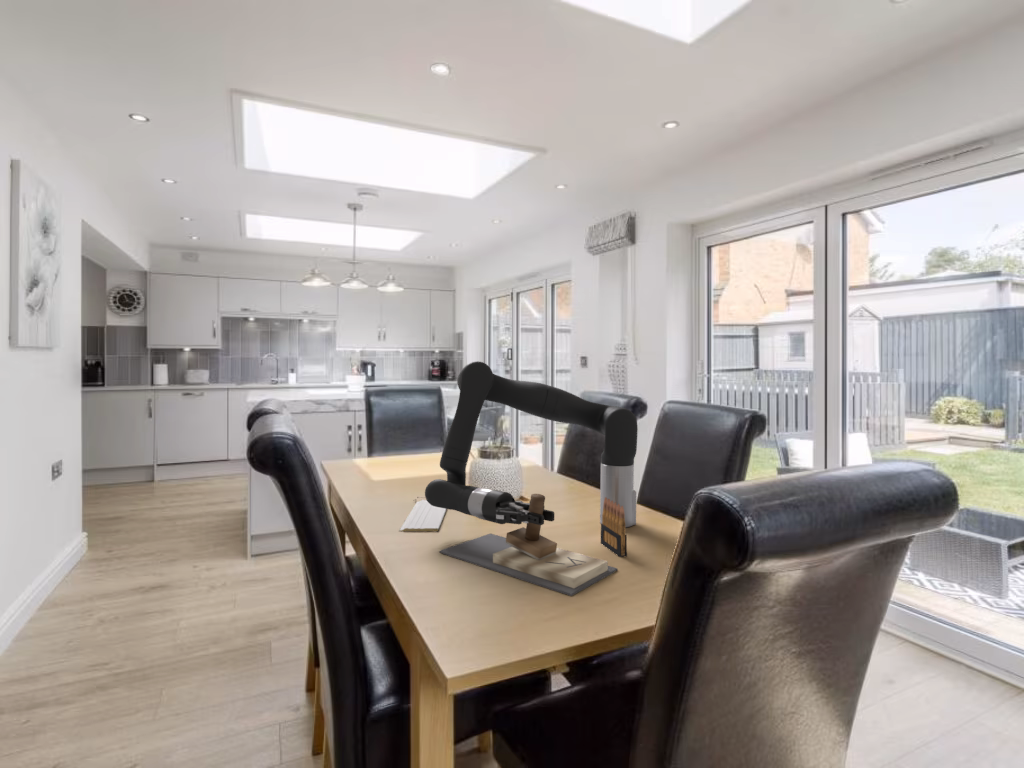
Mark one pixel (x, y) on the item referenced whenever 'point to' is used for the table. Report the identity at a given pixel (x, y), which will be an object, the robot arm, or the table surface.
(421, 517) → the baseboard molding
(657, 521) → the table surface
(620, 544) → the ammunition clip
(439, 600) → the table surface
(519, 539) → the sanding block
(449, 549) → the rubber mat
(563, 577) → the pine board
